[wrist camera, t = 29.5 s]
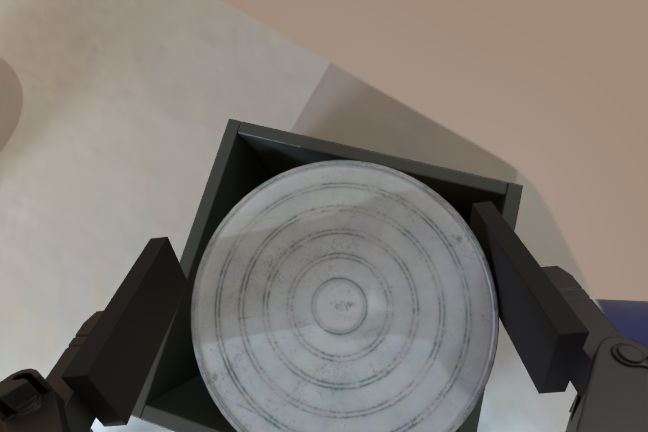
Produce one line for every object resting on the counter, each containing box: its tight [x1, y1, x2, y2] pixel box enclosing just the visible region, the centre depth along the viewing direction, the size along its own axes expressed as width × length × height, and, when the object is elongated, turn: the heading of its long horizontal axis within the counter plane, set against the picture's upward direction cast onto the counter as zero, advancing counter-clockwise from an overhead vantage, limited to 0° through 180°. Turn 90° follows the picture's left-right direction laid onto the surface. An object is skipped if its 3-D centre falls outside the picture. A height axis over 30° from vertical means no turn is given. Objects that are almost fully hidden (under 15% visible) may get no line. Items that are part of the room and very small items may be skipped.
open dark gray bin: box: [131, 119, 523, 432], centre depth 22 cm, size 15×15×9 cm
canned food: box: [191, 160, 499, 432], centre depth 19 cm, size 11×11×12 cm
